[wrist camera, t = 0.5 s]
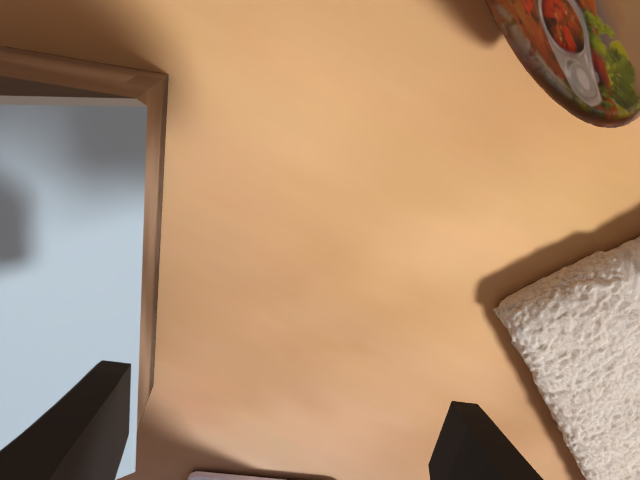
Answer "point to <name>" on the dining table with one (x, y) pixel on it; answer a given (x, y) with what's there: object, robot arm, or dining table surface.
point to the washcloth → (586, 355)
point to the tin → (579, 53)
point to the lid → (69, 250)
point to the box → (151, 89)
